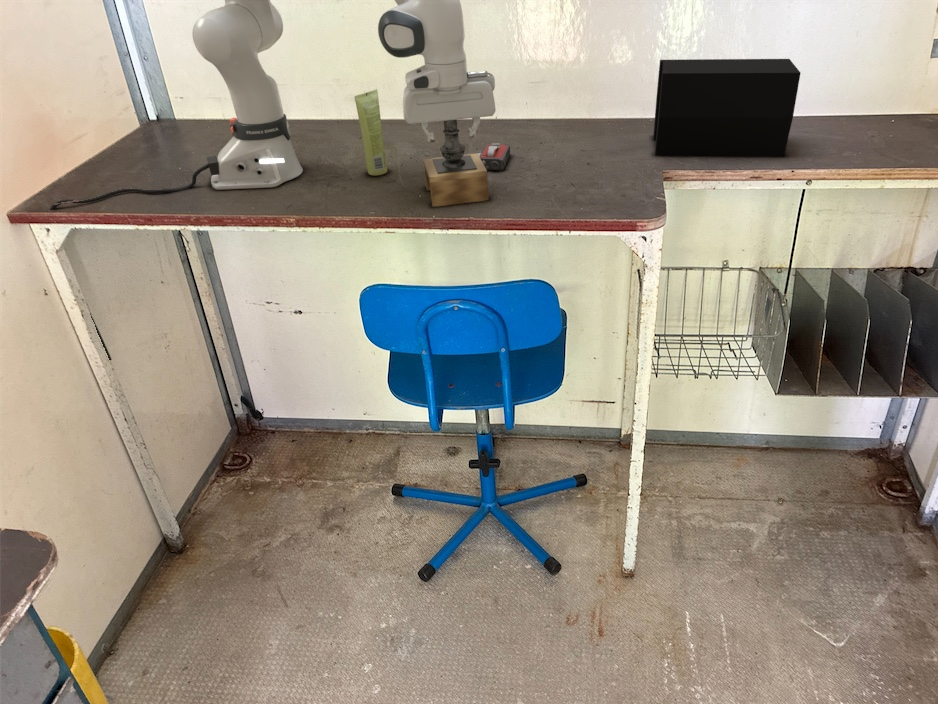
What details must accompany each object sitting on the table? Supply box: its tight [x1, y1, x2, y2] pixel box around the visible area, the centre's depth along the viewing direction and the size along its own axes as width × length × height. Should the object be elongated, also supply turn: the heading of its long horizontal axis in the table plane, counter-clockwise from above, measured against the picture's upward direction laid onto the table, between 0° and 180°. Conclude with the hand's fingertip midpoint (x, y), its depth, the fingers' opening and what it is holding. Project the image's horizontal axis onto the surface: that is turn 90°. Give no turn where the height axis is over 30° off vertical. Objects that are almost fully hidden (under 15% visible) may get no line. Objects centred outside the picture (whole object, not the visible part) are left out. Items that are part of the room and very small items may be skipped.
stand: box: [422, 152, 489, 208], centre depth 165 cm, size 13×12×7 cm
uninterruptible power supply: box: [652, 58, 801, 158], centre depth 181 cm, size 16×34×20 cm, turn 83°
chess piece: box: [439, 120, 466, 168], centre depth 159 cm, size 6×6×12 cm
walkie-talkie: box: [477, 142, 511, 171], centre depth 179 cm, size 9×4×20 cm
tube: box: [354, 88, 388, 176], centre depth 174 cm, size 6×5×20 cm
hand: (451, 139), depth 159 cm, fingers open, 8 cm apart
